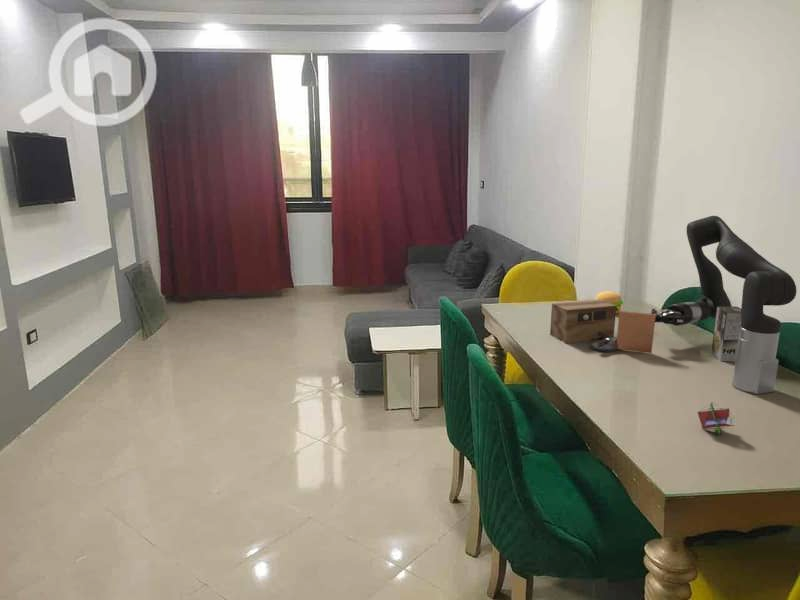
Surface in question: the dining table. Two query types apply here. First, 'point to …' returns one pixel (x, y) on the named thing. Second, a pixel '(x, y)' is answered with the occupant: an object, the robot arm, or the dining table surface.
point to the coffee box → (726, 333)
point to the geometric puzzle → (716, 418)
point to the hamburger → (611, 299)
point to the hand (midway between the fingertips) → (648, 319)
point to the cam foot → (628, 334)
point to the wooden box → (582, 320)
